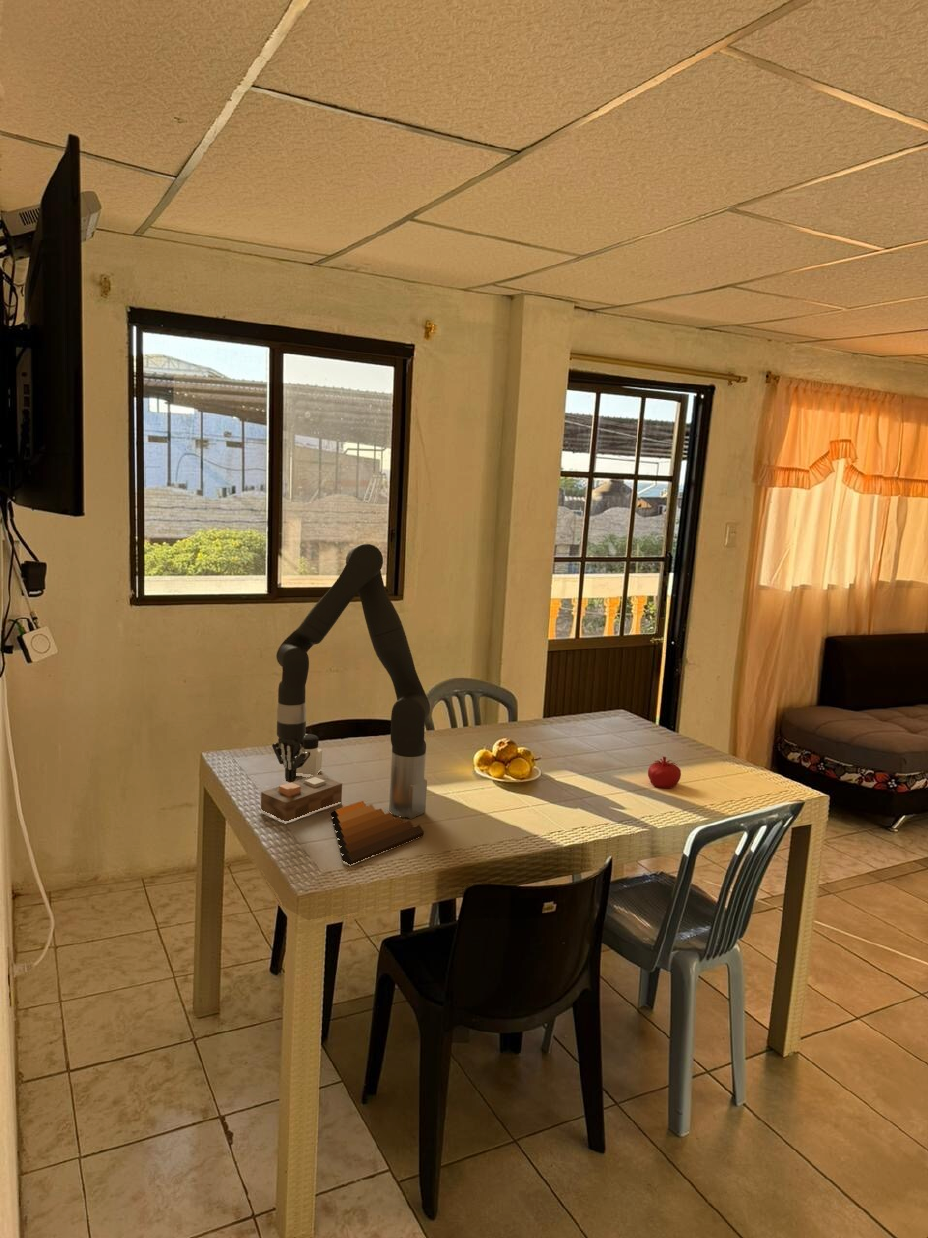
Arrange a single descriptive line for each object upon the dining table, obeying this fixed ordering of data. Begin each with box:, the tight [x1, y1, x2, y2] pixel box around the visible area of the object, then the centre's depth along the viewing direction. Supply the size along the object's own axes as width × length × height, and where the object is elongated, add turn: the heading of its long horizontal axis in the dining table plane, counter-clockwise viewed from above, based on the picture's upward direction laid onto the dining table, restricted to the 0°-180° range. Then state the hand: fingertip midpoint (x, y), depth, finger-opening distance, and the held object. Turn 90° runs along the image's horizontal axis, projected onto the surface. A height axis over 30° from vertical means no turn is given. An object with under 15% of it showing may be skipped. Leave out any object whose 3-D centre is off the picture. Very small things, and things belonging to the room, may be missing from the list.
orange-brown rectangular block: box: [278, 782, 301, 797], centre depth 231 cm, size 4×4×6 cm
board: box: [260, 774, 343, 821], centre depth 235 cm, size 10×20×6 cm, turn 142°
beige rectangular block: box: [305, 777, 325, 788], centre depth 238 cm, size 4×4×6 cm
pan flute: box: [330, 800, 425, 865], centre depth 220 cm, size 25×3×25 cm
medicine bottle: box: [293, 733, 323, 775], centre depth 261 cm, size 7×7×12 cm
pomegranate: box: [647, 756, 682, 789], centre depth 270 cm, size 10×10×9 cm
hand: (290, 781), depth 230 cm, fingers closed
